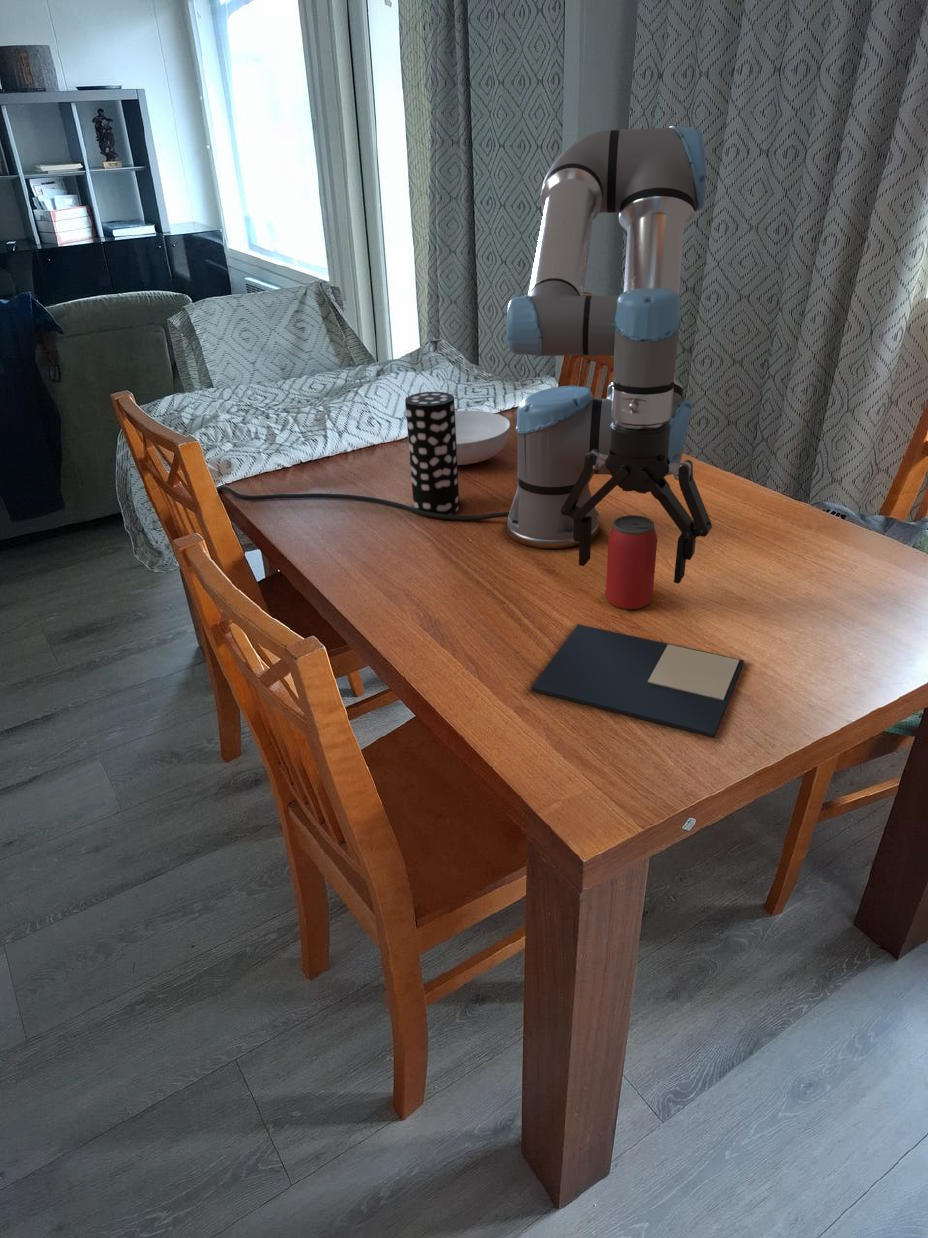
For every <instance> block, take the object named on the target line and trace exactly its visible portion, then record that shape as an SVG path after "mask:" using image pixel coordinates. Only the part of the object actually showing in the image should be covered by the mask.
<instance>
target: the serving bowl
mask: <svg viewBox="0 0 928 1238" xmlns="http://www.w3.org/2000/svg"><path fill="white" fill-rule="evenodd" d="M455 426H456V446H457V466H464V465H471V464H476V463H480V462H483V461H486V460H490V459H491V458H493V457H494V456H496V455H497V454H499V453H500V452H501V451H502V450H503V449H504V447H505V446H506V445H507V443H508V440H509V437H510V433H511V422H510V420H509V419H508V418H507V417H505V416H503V415H501V414H498V413H494V412H490V411H482V410H455Z"/></svg>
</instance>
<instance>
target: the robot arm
mask: <svg viewBox="0 0 928 1238" xmlns="http://www.w3.org/2000/svg"><path fill="white" fill-rule="evenodd" d="M706 162H707V161H706V149H705V141H704V137H703V135H702V133H701V131H700V130H699V129H698V128H696V127H694V126H676V125H670V126H669V127H655V128H653V127H652V128H651V127H649V128H630V129H629V128H628V129H626V128H625V129H600V130H599V131H594V132H591V133H589V134H587V135H585V136H583V137H581V138H580V139H578V140H577V141H575V142H574V143H571V145H570V146H569V147H567V148H566V149H565V150H564V151H563V152H562V153H561V154H560V155H559V156H557V158H556V159H555V161H554V162H553V163H552V165H551V167H549V169H548V171H547V173H546V175H545V178H544V180H543V182H542V187H541V192H540V200H539V201H540V207H541V210H542V213H543V216H542V220H541V225H540V231H539V236H538V240H537V241H538V242H537V246H536V253H535V258H534V262H533V267H532V272H531V276H530V277H531V278H530V282H529V288H528V293H527V294H525V295H523V296H515V297H513V298H512V299H510V301H509V303H508V305H507V311H506V341H507V347H508V349H509V351H510V352H511V353H512V354H514V355H524V356H535V357H537V358H538V357H558V356H559V357H560V356H561V357H563V356H564V357H565V356H569V357H571V356H589V357H598V356H599V357H613V380H612V382H611V383H610V384H609V385H608V386H607V390H606V395H607V396H606V398H594V394H593V393H592V391H591V389H590V388H589V387H587V386H579V385H564V386H563V385H562V386H555V387H554V386H553V387H550V388H545V389H542V390H538V391H535V392H533V393H531V394H529V395H527V396H526V397H524V398H523V399H522V401H520V402H519V404H518V407H517V415H516V426H515V432H516V449H517V450H516V452H517V454H516V455H517V456H516V457H517V460H516V461H517V488H516V490H515V491H516V492H515V494H514V496H513V500H512V503H511V506H510V509H509V511H500V512H499V511H497V512H491V513H484V514H474V515H472V514H471V515H468V514H467V515H466V514H465V515H459V514H450V515H447V514H438V513H432V512H426V511H422V510H419V509H416V508H414V506H410V505H408V504H404V503H401V502H396V501H392V500H389V499H384V498H379V497H373V496H367V495H359V494H349V493H329V492H327V493H325V492H305V493H303V492H302V493H273V494H271V493H270V494H244V493H241V492H238V491H236V490H234V489H232V488H231V487H230V486H228V485H219V486H218V487H217V488H216V489H217V491H218V493H217V494H220V493H221V492H222V491H226V492H227V493H229V494H231V495H232V496H233V497H235V498H237V499H241V500H250V501H253V500H254V501H257V500H258V501H260V500H276V499H278V500H279V499H282V500H283V499H343V500H352V501H353V500H355V501H363V502H370V503H375V504H380V505H385V506H390V507H394V508H397V509H402V510H403V511H404V510H405V511H408V512H410V513H414V514H416V515H418V516H422V517H426V516H427V517H428V518H431V519H439V520H448V521H483V520H489V519H490V520H491V519H495V518H496V519H497V518H507V521H506V522H507V523H506V525H507V529H506V530H507V534H508V536H509V537H511V539H513V540H514V541H516V542H517V543H520V544H522V545H525V546H529V547H533V548H538V549H547V550H548V549H556V550H557V549H566V548H573V547H577V546H578V566H580V567H585V566H586V564H587V563H588V562H590V560H591V554H592V553H591V551H592V540H593V539H594V538H595V537H596V536H597V534H598V532H599V518H600V515H599V512H598V510H597V509H596V508H597V507H596V506H597V505H598V504H599V503H600V502H601V501H602V500H604V498H605V497H607V496H608V494H610V492H612V491H613V490H614V489H615V488H616V487H618V488H620V489H622V491H623V492H636V493H638V494H644V495H646V494H647V493H650V494H651V495H652V497H653V498H654V499H655V500H657V501H658V502H659V504H660V505H661V506H662V507H663V509H664V510H665V512H666V513H667V515H668V516H669V517H670V519H671V520H672V522H673V524H675V526H676V527H677V529H678V530H679V531H680V533H681V534H680V535H679V536H678V538H677V544H676V553H675V554H676V555H675V563H674V564H675V565H674V576H673V583H674V584H680V583H681V581H682V580H683V578H684V576H685V571H686V563H687V561H691V559H692V558H693V556H694V554H695V552H696V551H695V549H696V542H697V538H698V537H702V538H705V537H707V536H708V534H709V533H710V531H711V529H712V527H713V524H712V522H711V519H710V516H709V513H708V511H707V509H706V506H705V505H704V501H703V499H702V496H701V494H700V491H699V488H698V486H697V484H696V481H695V478H694V466H693V464H694V463H693V461H692V460H691V459H685V460H684V461H683V462H682V457H683V452H684V450H685V449H684V447H685V443H686V439H687V433H688V429H689V424H690V418H691V412H692V407H693V402H692V400H689V399H688V398H684V387H683V385H682V384H681V383H680V382H679V381H678V380H677V379H676V378H675V373H676V364H677V363H676V362H677V354H678V345H679V331H680V328H681V321H682V319H681V317H682V316H681V297H680V291H681V289H680V288H681V276H682V275H681V273H682V259H683V243H684V242H683V240H684V231H685V230H686V229H687V228H688V227H689V226H690V225H691V224H692V223H693V221H694V219H695V213H696V212H698V211H701V210H702V209H703V208H704V205H705V201H706V191H707V182H706V181H707V179H706V175H707V174H706V173H707V163H706ZM605 213H608V214H618V222H619V225H620V227H622V229H624V230H625V231H626V232H627V236H626V250H625V266H624V279H623V280H624V281H623V292H622V293H621V294H620V295H584V292H585V291H584V290H585V284H586V283H585V282H586V277H587V270H588V269H587V268H588V260H589V254H590V245H591V237H592V231H593V224H594V223H593V222H594V220H595V219H596V218H597V216H598V215H599V214H605ZM594 475H605V476H606V475H607V476H608V475H611V477H610V478H609V479H608V480H607V481H606V482H605V483H604V484H603V485H602V486H601V487H600V488H599V489H598V490H597V491H596V492H595V493H594V494H593V495H592V493H591V490H590V486H589V485H590V482H591V480H592V478H593V476H594ZM671 475H672V476H673V478H674V480H676V481H678V484H679V488H680V491H681V493H682V497H683V499H684V501H685V504H686V506H687V509H688V511H689V513H690V514H689V513H688V511H687V510H686V508H685V507H684V506H683V504H682V502H681V501H680V500H679V498H678V497H677V496H676V494H675V493H674V491H673V490H672V488H671V486H670V483H669V482H668V481H667V479H666V476H671Z"/></svg>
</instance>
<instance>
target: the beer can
mask: <svg viewBox="0 0 928 1238" xmlns="http://www.w3.org/2000/svg"><path fill="white" fill-rule="evenodd" d="M607 542H608V543H607V558H606V559H607V561H606V562H607V563H606V580H605V599H606V600H607V601H608V602H609V604H611V605H613V606H614V607H616V608H619V609H624V610H638V609H641V608H644V607H646V606H648V605H649V604H650V603H651V602H652V600H653V598H654V597H653V595H654V584H655V573H656V571H655V570H656V563H657V562H656V560H657V548H658V535H657V532H656V528H655V522H654V521H653V520H652V519H651V518H648V517H647V516H642V515H635V514H634V515H632V514H629V515H621V516H620V517H617V518H616V519H614V520H613V522H612V527H611V529H610V531H609V534H608V539H607Z"/></svg>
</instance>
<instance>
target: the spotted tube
mask: <svg viewBox="0 0 928 1238" xmlns="http://www.w3.org/2000/svg"><path fill="white" fill-rule="evenodd" d="M404 404H405V415H406V426H407V429H406V431H407V441H408V455H409V464H410V465H409V466H410V479H411V490H412V491H411V492H412V503H413V504H412V505H413V507H414V508H416V509H419V510H422V511H426V512H432V513H438V514H447V515H454V514H455V513H456V512H458V511H459V509H460V489H459V488H460V487H459V468H458V465H457V446H456V426H455V411H456V408H455V395H453V394H451V393H449V392H444V391H423V392H417V393H413V394H410V395H408V396H407V397H405V399H404ZM425 517H427V516H425Z"/></svg>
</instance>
